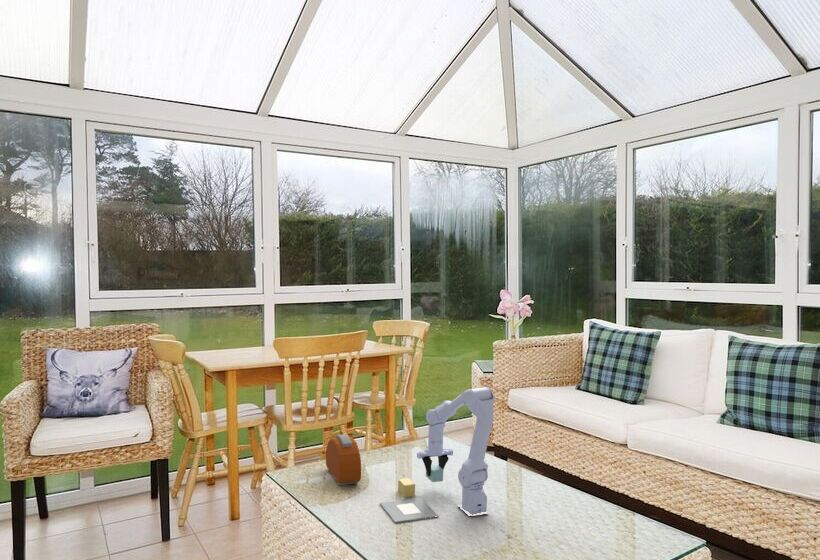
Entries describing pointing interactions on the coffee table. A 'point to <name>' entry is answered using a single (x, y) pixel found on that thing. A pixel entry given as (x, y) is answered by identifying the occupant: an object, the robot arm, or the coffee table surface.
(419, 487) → the coffee table surface
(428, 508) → the baseplate
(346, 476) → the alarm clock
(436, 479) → the teal brick
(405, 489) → the ochre brick
